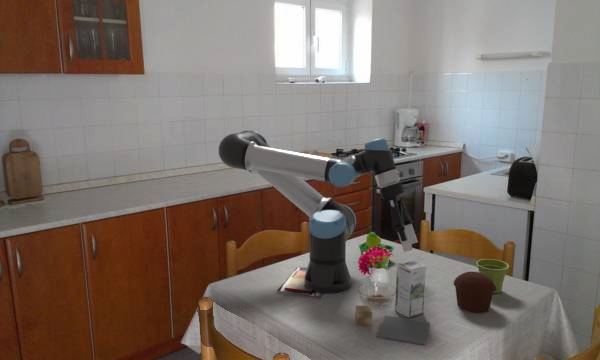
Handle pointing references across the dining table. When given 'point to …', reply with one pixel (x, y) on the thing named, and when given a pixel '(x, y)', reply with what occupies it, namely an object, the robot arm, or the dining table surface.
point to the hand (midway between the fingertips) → (411, 246)
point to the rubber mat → (403, 330)
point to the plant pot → (493, 271)
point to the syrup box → (410, 288)
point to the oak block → (363, 316)
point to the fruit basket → (373, 243)
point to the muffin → (474, 292)
